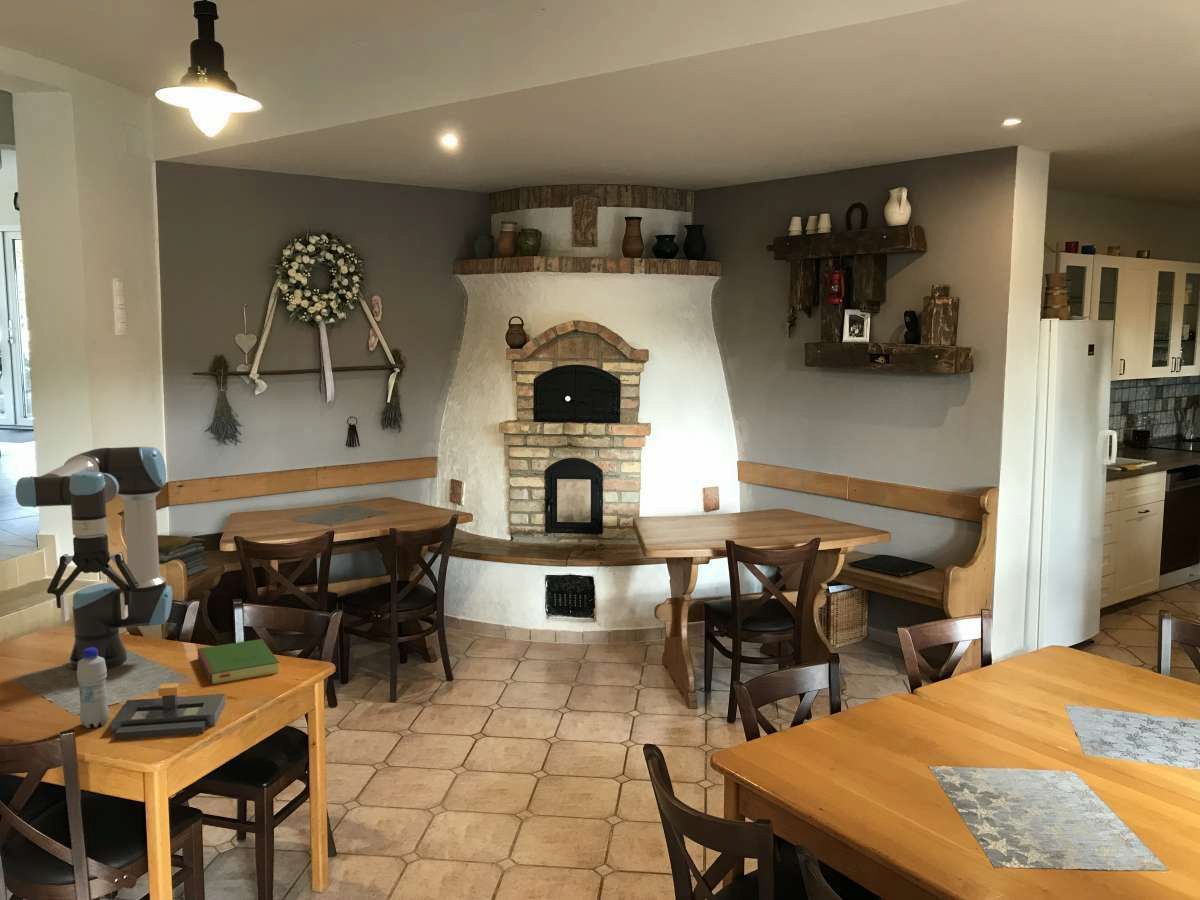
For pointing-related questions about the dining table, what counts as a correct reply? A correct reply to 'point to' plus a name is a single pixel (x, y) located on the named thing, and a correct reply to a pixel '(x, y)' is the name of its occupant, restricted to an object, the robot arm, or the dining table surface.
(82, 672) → the bottle
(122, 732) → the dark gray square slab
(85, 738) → the dining table surface
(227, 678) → the hardcover book
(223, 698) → the panel
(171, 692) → the toggle
